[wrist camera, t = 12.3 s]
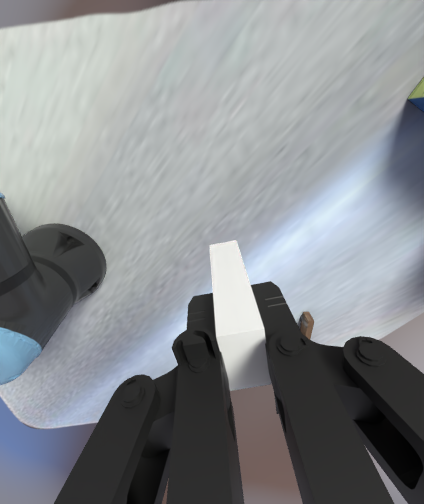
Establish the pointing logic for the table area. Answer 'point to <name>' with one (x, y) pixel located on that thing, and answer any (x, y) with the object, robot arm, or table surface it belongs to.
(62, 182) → the table surface
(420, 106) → the protein box
